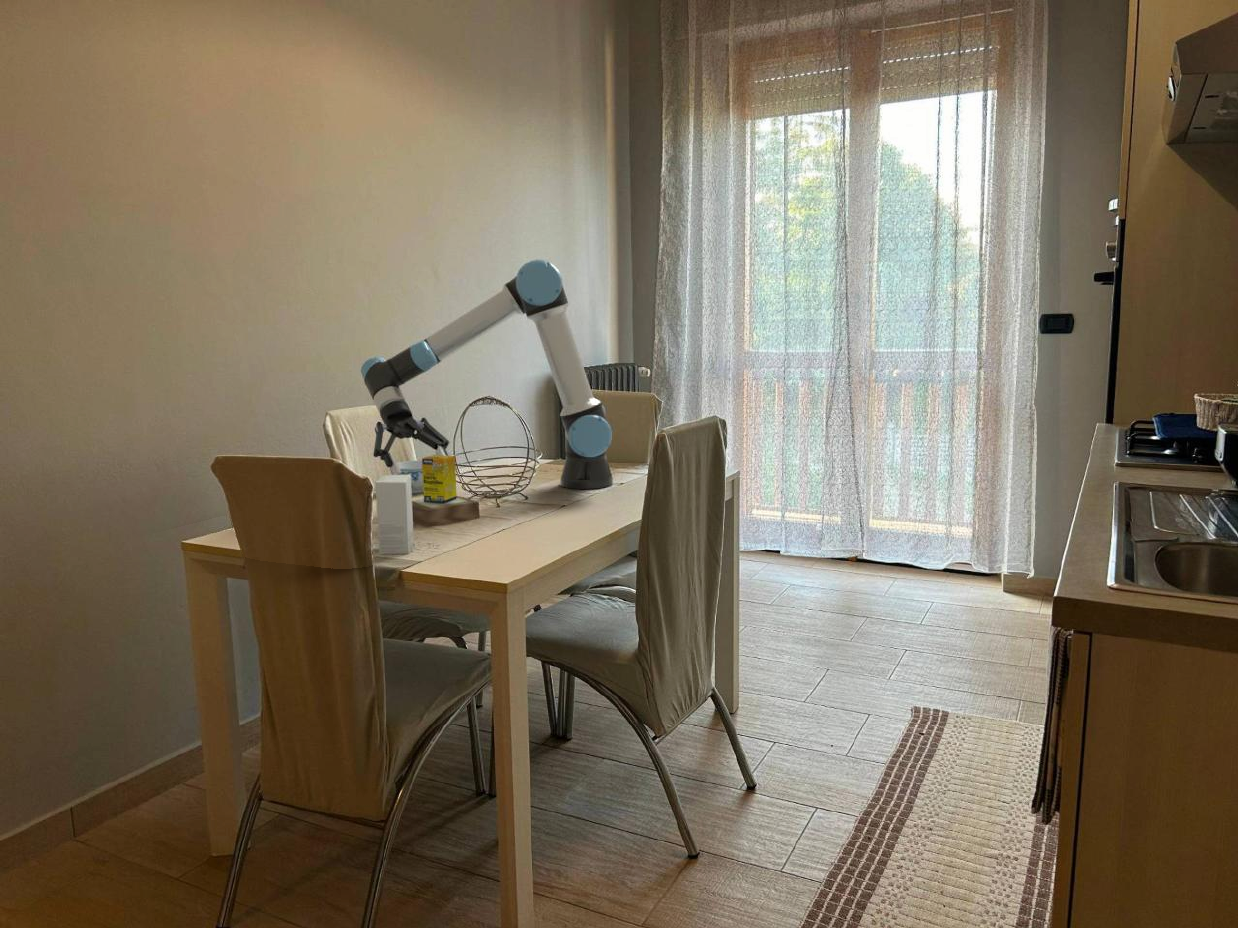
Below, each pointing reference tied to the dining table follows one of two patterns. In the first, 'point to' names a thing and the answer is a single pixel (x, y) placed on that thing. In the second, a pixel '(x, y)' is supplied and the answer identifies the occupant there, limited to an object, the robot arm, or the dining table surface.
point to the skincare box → (394, 514)
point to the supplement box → (439, 478)
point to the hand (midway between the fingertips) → (423, 472)
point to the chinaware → (413, 474)
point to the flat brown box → (444, 511)
